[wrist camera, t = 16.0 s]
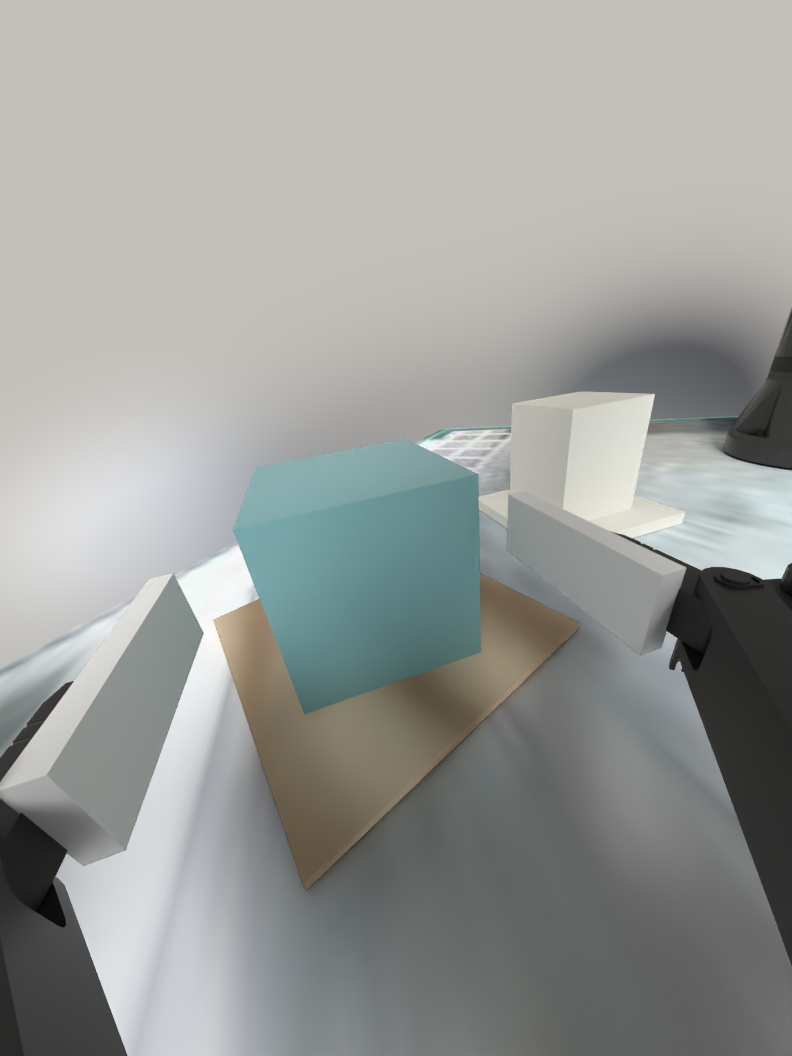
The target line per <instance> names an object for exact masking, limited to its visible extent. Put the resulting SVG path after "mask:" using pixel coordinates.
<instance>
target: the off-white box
mask: <svg viewBox="0 0 792 1056" xmlns="http://www.w3.org/2000/svg"><path fill="white" fill-rule="evenodd" d="M654 396H655V394H636V393H607V392H575V393H569V394H564V395H558V396H553V397H547V398H541V399H535V400H530V401H524V402H519V403H513V404H512V426H511V462H510V489H508V490H504V491H500V492H496V493H492V494H487V495H483V496H479V497H478V499H479V510H480V511H482V512H483V513H485V514H486V515H488V516H489V517H491V518H492V519H493V520H495V521H496V522H498V523H499V524H501V525H502V526H504V527H505V528H507V523H508V494H512V493H517V492H521V491H526V492H528V493H530V494H532V495H534V496H536V497H538V498H540V499H543V500H545V501H547V502H549V503H551V504H553V505H555V506H557V507H559V508H562V509H564V510H566V511H568V512H570V513H572V514H574V515H576V516H578V517H581V518H583V519H585V520H587V521H589V522H591V523H593V524H595V525H597V526H600V527H602V528H604V529H606V530H608V531H611V532H615V533H618V534H622V535H626V536H628V537H630V538H635V537H638V536H642V535H645V534H648V533H652V532H655V531H659V530H662V529H665V528H669V527H672V526H675V525H679V524H682V523H683V519H684V516H685V512H684V511H681V510H678V509H675V508H672V507H669V506H666V505H663V504H660V503H657V502H654V501H650V500H647V499H644V498H641V497H638V496H635V495H634V493H635V488H636V483H637V478H638V474H639V469H640V464H641V459H642V454H643V449H644V444H645V440H646V435H647V430H648V425H649V420H650V415H651V411H652V405H653V400H654Z"/></svg>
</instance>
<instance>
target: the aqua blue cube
mask: <svg viewBox="0 0 792 1056" xmlns="http://www.w3.org/2000/svg"><path fill="white" fill-rule="evenodd" d="M233 531H234V534H235V536H236V539H237V541H238V544H239V547H240V549H241V552H242V554H243V557H244V560H245V562H246V565H247V567H248V570H249V572H250V575H251V578H252V580H253V583H254V585H255V588H256V591H257V593H258V596H259V598H260V601H261V603H262V606H263V609H264V611H265V614H266V616H267V619H268V622H269V624H270V627H271V629H272V632H273V634H274V637H275V640H276V642H277V645H278V647H279V650H280V653H281V655H282V658H283V660H284V663H285V666H286V668H287V671H288V673H289V676H290V678H291V681H292V684H293V686H294V689H295V691H296V694H297V697H298V699H299V702H300V704H301V707H302V709H303V712H304V714H307V713H309V712H312V711H315V710H318V709H321V708H324V707H327V706H329V705H332V704H335V703H338V702H341V701H344V700H347V699H349V698H352V697H355V696H358V695H361V694H364V693H366V692H369V691H372V690H375V689H378V688H381V687H384V686H386V685H389V684H392V683H395V682H398V681H401V680H403V679H406V678H409V677H412V676H415V675H418V674H421V673H423V672H426V671H429V670H432V669H435V668H438V667H441V666H443V665H446V664H449V663H452V662H455V661H458V660H460V659H463V658H466V657H469V656H472V655H475V654H478V653H480V652H481V622H480V560H479V499H478V474H477V473H475V472H472V471H470V470H468V469H466V468H464V467H462V466H460V465H458V464H456V463H454V462H452V461H450V460H448V459H446V458H444V457H442V456H439V455H437V454H435V453H433V452H431V451H429V450H427V449H425V448H423V447H421V446H419V445H417V444H415V443H413V442H411V441H408V440H406V439H403V440H397V441H392V442H387V443H382V444H376V445H371V446H365V447H360V448H355V449H350V450H345V451H339V452H334V453H329V454H324V455H318V456H313V457H308V458H302V459H297V460H292V461H286V462H281V463H276V464H271V465H266V466H260V467H256V469H255V472H254V475H253V477H252V480H251V483H250V485H249V488H248V490H247V493H246V496H245V499H244V501H243V504H242V506H241V509H240V512H239V514H238V517H237V520H236V522H235V525H234V528H233Z"/></svg>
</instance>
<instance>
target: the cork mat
mask: <svg viewBox="0 0 792 1056" xmlns="http://www.w3.org/2000/svg"><path fill="white" fill-rule="evenodd" d="M213 621H214V624H215V627H216V630H217V633H218V636H219V638H220V641H221V644H222V647H223V650H224V653H225V656H226V659H227V662H228V665H229V668H230V671H231V674H232V677H233V680H234V683H235V686H236V689H237V692H238V695H239V698H240V700H241V703H242V706H243V709H244V712H245V715H246V718H247V721H248V724H249V727H250V730H251V733H252V736H253V739H254V742H255V745H256V748H257V751H258V754H259V757H260V760H261V762H262V765H263V768H264V771H265V774H266V777H267V780H268V783H269V786H270V789H271V792H272V795H273V798H274V801H275V804H276V807H277V810H278V813H279V816H280V819H281V822H282V824H283V827H284V830H285V833H286V836H287V839H288V842H289V845H290V848H291V851H292V854H293V857H294V860H295V863H296V866H297V869H298V872H299V875H300V878H301V881H302V883H303V885H304V887H305V889H306V890H307V889H309V888H310V887H311V886H312V885H313V884H314V883H315V882H316V881H317V880H318V879H319V878H320V877H321V876H322V875H323V874H324V873H325V872H326V871H327V870H328V869H329V868H330V867H331V866H332V865H334V864H335V863H336V862H337V861H338V860H339V859H340V858H341V857H342V856H343V855H344V854H345V853H346V852H347V851H348V850H349V849H350V848H351V847H352V846H353V845H354V844H355V843H356V842H357V841H358V840H360V839H361V838H362V837H363V836H364V835H365V834H366V833H367V832H368V831H369V830H370V829H371V828H372V827H373V826H374V825H375V824H376V823H377V822H378V821H379V820H380V819H381V818H382V817H383V816H384V815H386V814H387V813H388V812H389V811H390V810H391V809H392V808H393V807H394V806H395V805H396V804H397V803H398V802H399V801H400V800H401V799H402V798H403V797H404V796H405V795H406V794H407V793H408V792H409V791H410V790H412V789H413V788H414V787H415V786H416V785H417V784H418V783H419V782H420V781H421V780H422V779H423V778H424V777H425V776H426V775H427V774H428V773H429V772H430V771H431V770H432V769H433V768H434V767H435V766H436V765H438V764H439V763H440V762H441V761H442V760H443V759H444V758H445V757H446V756H447V755H448V754H449V753H450V752H451V751H452V750H453V749H454V748H455V747H456V746H457V745H458V744H459V743H460V742H461V741H462V740H464V739H465V738H466V737H467V736H468V735H469V734H470V733H471V732H472V731H473V730H474V729H475V728H476V727H477V726H478V725H479V724H480V723H481V722H482V721H483V720H484V719H485V718H486V717H487V716H489V715H490V714H491V713H492V712H493V711H494V710H495V709H496V708H497V707H498V706H499V705H500V704H501V703H502V702H503V701H504V700H505V699H506V698H507V697H508V696H509V695H510V694H511V693H512V692H513V691H515V690H516V689H517V688H518V687H519V686H520V685H521V684H522V683H523V682H524V681H525V680H526V679H527V678H528V677H529V676H530V675H531V674H532V673H533V672H534V671H535V670H536V669H537V668H538V667H539V666H541V665H542V664H543V663H544V662H545V661H546V660H547V659H548V658H549V657H550V656H551V655H552V654H553V653H554V652H555V651H556V650H557V649H558V648H559V647H560V646H561V645H562V644H563V643H564V642H565V641H567V640H568V639H569V638H570V637H571V636H572V635H573V634H574V633H575V632H576V631H577V630H578V626H579V622H577V621H575V620H573V619H571V618H569V617H567V616H565V615H563V614H561V613H559V612H557V611H555V610H553V609H551V608H549V607H547V606H545V605H543V604H541V603H539V602H537V601H535V600H533V599H531V598H529V597H527V596H525V595H523V594H521V593H519V592H517V591H515V590H513V589H511V588H509V587H507V586H505V585H503V584H501V583H499V582H497V581H495V580H493V579H491V578H489V577H487V576H485V575H483V574H481V573H480V622H481V652H480V653H478V654H475V655H472V656H469V657H466V658H463V659H460V660H458V661H455V662H452V663H449V664H446V665H443V666H441V667H438V668H435V669H432V670H429V671H426V672H423V673H421V674H418V675H415V676H412V677H409V678H406V679H403V680H401V681H398V682H395V683H392V684H389V685H386V686H384V687H381V688H378V689H375V690H372V691H369V692H366V693H364V694H361V695H358V696H355V697H352V698H349V699H347V700H344V701H341V702H338V703H335V704H332V705H329V706H327V707H324V708H321V709H318V710H315V711H312V712H309V713H307V714H304V712H303V709H302V707H301V704H300V702H299V699H298V697H297V694H296V691H295V689H294V686H293V684H292V681H291V678H290V676H289V673H288V671H287V668H286V666H285V663H284V660H283V658H282V655H281V653H280V650H279V647H278V645H277V642H276V640H275V637H274V634H273V632H272V629H271V627H270V624H269V622H268V619H267V616H266V614H265V611H264V609H263V606H262V603H261V601H260V599H258V600H256V601H254V602H251V603H249V604H247V605H245V606H243V607H240V608H238V609H236V610H234V611H232V612H229V613H227V614H225V615H223V616H221V617H219V618H216V619H214V620H213Z"/></svg>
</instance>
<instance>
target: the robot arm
mask: <svg viewBox="0 0 792 1056" xmlns="http://www.w3.org/2000/svg"><path fill="white" fill-rule="evenodd" d="M723 450H724V451H725V452H726V453H728V454H730V455H732V456H734V457H737V458H740V459H744V460H747V461H751V462H756V463H761V464H766V465H772V466H778V467H785V468H792V308H791V311H790V314H789V317H788V320H787V323H786V326H785V328H784V331H783V334H782V337H781V339H780V342H779V345H778V348H777V351H776V353H775V357H774V360H773V363H772V366H771V368H770V371H769V374H768V377H767V379H766V381H765V382H764V384H763V385H762V386H761V388H760V389H759V390H758V392H757V393H756V394H755V396H754V397H753V398H752V400H751V401H750V402H749V404H748V405H747V406H746V408H745V409H744V410H743V412H742V413H741V415H740V416H739V417H738V418H737V420H736V421H735V422H734V424H733V425H732V426H731V428H730V429H729V431H728V434H727V437H726V440H725V443H724V446H723ZM507 551H508V552H510V553H511V554H512V555H513V556H515V557H516V558H517V559H518V560H520V561H521V562H522V563H524V564H525V565H526V566H527V567H529V568H530V569H531V570H532V571H534V572H535V573H536V574H537V575H539V576H540V577H541V578H542V579H544V580H545V581H546V582H548V583H549V584H550V585H551V586H553V587H554V588H555V589H556V590H558V591H559V592H560V593H561V594H563V595H564V596H565V597H566V598H568V599H569V600H570V601H572V602H573V603H574V604H575V605H577V606H578V607H579V608H580V609H582V610H583V611H584V612H585V613H587V614H588V615H589V616H590V617H592V618H593V619H594V620H596V621H597V622H598V623H599V624H601V625H602V626H603V627H604V628H606V629H607V630H608V631H609V632H611V633H612V634H613V635H614V636H616V637H617V638H618V639H620V640H621V641H622V642H623V643H625V644H626V645H627V646H628V647H630V648H631V649H632V650H633V651H635V652H636V653H637V654H638V655H640V656H641V655H643V654H646V653H649V652H651V651H654V650H656V649H659V648H661V647H662V644H663V641H664V638H665V635H666V632H667V631H668V632H669V633H671V634H672V635H674V636H675V637H677V638H678V639H677V642H676V645H675V648H674V651H673V654H672V657H671V660H670V663H669V669H671V670H674V669H675V666H676V664H677V662H679V661H680V662H681V665H682V670H681V672H684V673H685V676H686V679H687V681H688V684H689V687H690V689H691V692H692V695H693V698H694V700H695V703H696V706H697V709H698V711H699V714H700V717H701V719H702V722H703V725H704V728H705V730H706V733H707V736H708V738H709V741H710V744H711V747H712V749H713V752H714V755H715V757H716V760H717V763H718V766H719V768H720V771H721V774H722V777H723V779H724V782H725V785H726V787H727V790H728V793H729V796H730V798H731V801H732V804H733V806H734V809H735V812H736V815H737V817H738V820H739V823H740V825H741V828H742V831H743V834H744V836H745V839H746V842H747V844H748V847H749V850H750V853H751V855H752V858H753V861H754V864H755V866H756V869H757V872H758V874H759V877H760V880H761V883H762V885H763V888H764V891H765V893H766V896H767V899H768V902H769V904H770V907H771V910H772V912H773V915H774V918H775V921H776V923H777V926H778V929H779V932H780V934H781V937H782V940H783V942H784V945H785V948H786V951H787V953H788V956H789V959H790V961H791V964H792V563H791V564H789V565H788V566H787V568H786V570H785V573H784V575H783V577H782V579H768V580H762V579H760V578H758V577H756V576H754V575H752V574H750V573H747V572H743V571H740V570H737V569H731V568H725V567H711V568H706V569H703V570H702V571H701V570H699V569H697V568H695V567H693V566H691V565H688V564H686V563H684V562H682V561H680V560H678V559H675V558H673V557H671V556H669V555H667V554H665V553H662V552H660V551H658V550H653V548H652V547H650V546H647V545H645V544H641V543H640V542H639V541H637V540H634V539H632V538H630V537H628V536H626V535H622V534H618V533H615V532H611V531H608V530H606V529H604V528H602V527H600V526H597V525H595V524H593V523H591V522H589V521H587V520H585V519H583V518H581V517H578V516H576V515H574V514H572V513H570V512H568V511H566V510H564V509H562V508H559V507H557V506H555V505H553V504H551V503H549V502H547V501H545V500H543V499H540V498H538V497H536V496H534V495H532V494H530V493H528V492H526V491H521V492H517V493H512V494H508V523H507ZM202 636H203V631H202V629H201V627H200V625H199V623H198V621H197V619H196V617H195V615H194V613H193V611H192V609H191V607H190V605H189V603H188V601H187V599H186V598H185V596H184V594H183V592H182V590H181V588H180V586H179V584H178V582H177V580H176V578H175V576H174V574H169V575H165V576H160V577H157V578H152V579H149V580H148V581H147V583H146V584H145V585H144V587H143V588H142V589H141V591H140V592H139V593H138V595H137V596H136V598H135V599H134V600H133V602H132V603H131V604H130V606H129V607H128V608H127V610H126V611H125V613H124V614H123V615H122V617H121V618H120V619H119V621H118V622H117V623H116V625H115V626H114V628H113V629H112V630H111V632H110V633H109V634H108V636H107V637H106V638H105V640H104V641H103V643H102V644H101V645H100V647H99V648H98V649H97V651H96V652H95V653H94V655H93V656H92V658H91V659H90V660H89V662H88V663H87V664H86V666H85V667H84V668H83V670H82V671H81V673H80V674H79V675H78V677H77V678H76V679H75V681H72V682H69V683H66V684H65V685H64V686H62V687H61V688H60V689H59V690H58V691H57V692H56V693H54V694H53V695H52V696H51V697H50V698H49V699H48V700H46V701H45V702H44V703H43V704H42V705H41V707H40V708H39V709H38V711H37V712H36V713H35V714H34V716H33V717H32V718H31V720H30V721H29V722H28V723H27V728H24V729H23V730H22V731H21V732H20V734H19V735H18V736H17V738H16V739H15V740H14V741H13V746H10V747H9V748H8V749H7V750H6V752H5V753H4V754H3V756H2V757H1V758H0V1056H127V1053H126V1051H125V1048H124V1045H123V1043H122V1040H121V1037H120V1034H119V1032H118V1029H117V1026H116V1024H115V1021H114V1018H113V1015H112V1013H111V1010H110V1007H109V1005H108V1002H107V999H106V996H105V994H104V991H103V988H102V986H101V983H100V980H99V977H98V975H97V972H96V969H95V967H94V964H93V961H92V958H91V956H90V953H89V950H88V948H87V945H86V942H85V939H84V937H83V934H82V931H81V929H80V926H79V923H78V920H77V918H76V915H75V912H74V910H73V907H72V904H71V902H70V899H69V896H68V893H67V891H66V888H65V885H64V884H63V883H62V882H61V881H60V880H59V879H58V878H56V877H55V876H56V874H57V872H58V870H59V868H60V865H61V863H62V861H63V859H64V857H65V855H66V853H68V854H69V855H70V856H71V857H73V858H74V859H75V860H76V861H78V862H79V863H80V864H81V865H83V866H85V865H87V864H90V863H93V862H95V861H98V860H101V859H103V858H106V857H109V856H111V855H114V854H116V853H119V852H122V851H124V850H126V847H127V845H128V842H129V839H130V836H131V834H132V831H133V828H134V825H135V822H136V820H137V817H138V814H139V811H140V808H141V806H142V803H143V800H144V797H145V795H146V792H147V789H148V786H149V783H150V781H151V778H152V775H153V772H154V770H155V767H156V764H157V761H158V758H159V756H160V753H161V750H162V747H163V744H164V742H165V739H166V736H167V733H168V731H169V728H170V725H171V722H172V719H173V717H174V714H175V711H176V708H177V706H178V703H179V700H180V697H181V694H182V692H183V689H184V686H185V683H186V680H187V678H188V675H189V672H190V669H191V667H192V664H193V661H194V658H195V655H196V653H197V650H198V647H199V644H200V642H201V639H202Z"/></svg>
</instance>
